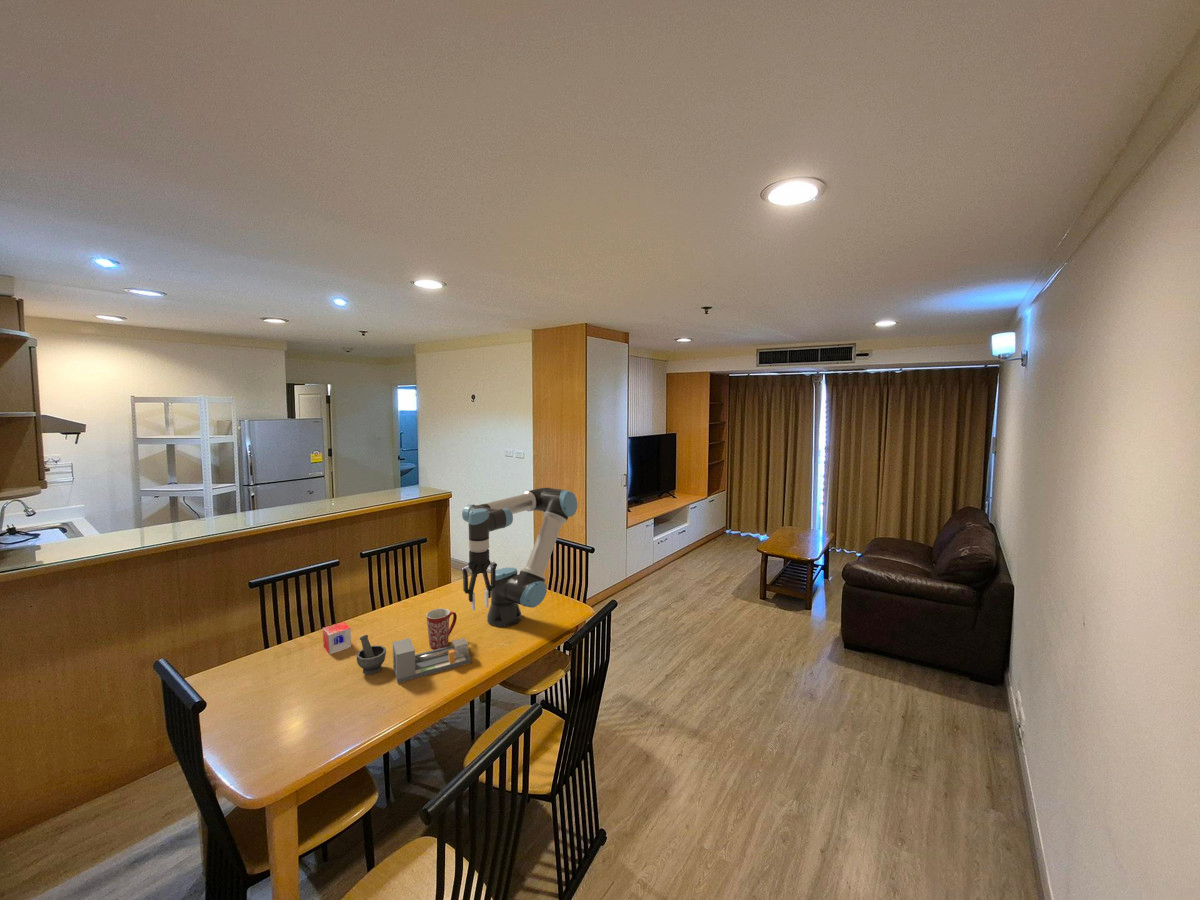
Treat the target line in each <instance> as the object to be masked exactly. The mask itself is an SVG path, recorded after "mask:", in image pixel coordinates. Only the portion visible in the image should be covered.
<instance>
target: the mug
mask: <svg viewBox="0 0 1200 900" xmlns="http://www.w3.org/2000/svg"><path fill="white" fill-rule="evenodd" d="M452 615H453V618H452V622H451V624H450V617H451V616H452ZM425 617H426V623H427V633H428V643H429V645H428V646H429V648H430V649H432V650H436V649H440V648H444V647H448V645H449V637H450V635H451V633H452V631H453V629H454V627H455V626H456V623H457V613H456V612H455V611H452V610H451V611H450V610H449V609H447V608H435V609H432V610H430V611H428V612H427V613H426V615H425Z"/></svg>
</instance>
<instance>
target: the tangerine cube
mask: <svg viewBox="0 0 1200 900" xmlns="http://www.w3.org/2000/svg"><path fill="white" fill-rule="evenodd" d="M448 661H449V663H453V662H455V651H454V649H452V650H449V651H448Z"/></svg>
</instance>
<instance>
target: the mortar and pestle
mask: <svg viewBox="0 0 1200 900" xmlns="http://www.w3.org/2000/svg"><path fill="white" fill-rule="evenodd" d="M368 637H369V634H364V635H362V636H360V637H359V640H360V642H361V646H362V649H361V650H359V651H358V652H357V654H356V662H357V663H356V664H357V665H358V667H359V668H361V669H362V673H363V675H366V676H367V675H369V676H372V675H375V674H378V672H380V671H382V664H384V662H385V660H386V659H385V658H386V654H387V648H386V647H385V646H383V645H371V643H370V640H369V638H368Z"/></svg>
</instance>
